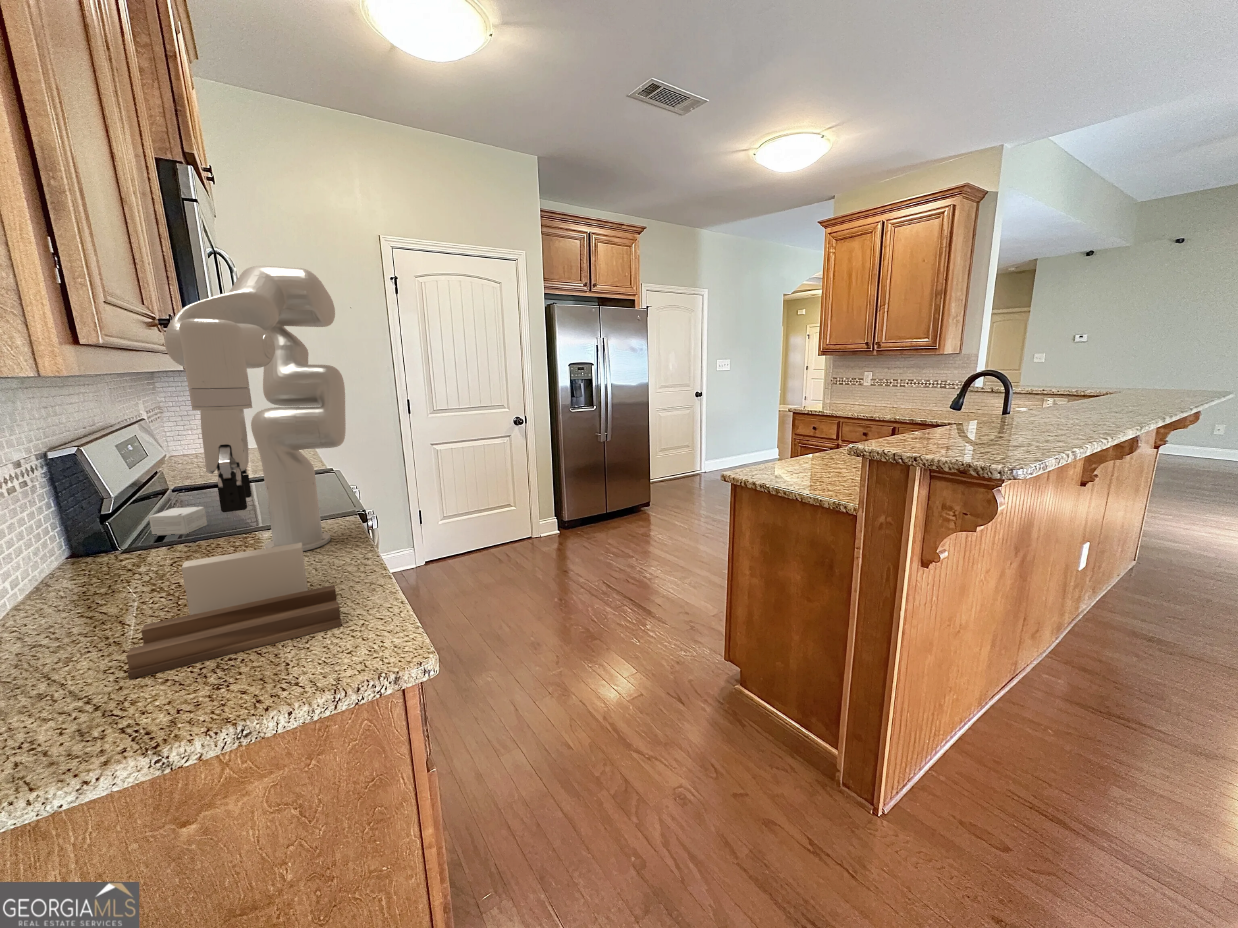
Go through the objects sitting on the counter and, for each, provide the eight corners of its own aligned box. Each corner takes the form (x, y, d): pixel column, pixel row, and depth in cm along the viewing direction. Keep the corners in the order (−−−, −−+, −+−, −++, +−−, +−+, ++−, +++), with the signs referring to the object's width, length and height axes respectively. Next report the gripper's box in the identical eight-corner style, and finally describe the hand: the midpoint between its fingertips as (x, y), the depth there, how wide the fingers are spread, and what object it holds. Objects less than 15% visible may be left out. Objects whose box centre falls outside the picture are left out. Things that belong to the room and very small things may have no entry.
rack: (149, 640, 72) (145, 622, 71) (336, 599, 85) (334, 583, 84) (129, 679, 63) (124, 658, 62) (341, 625, 76) (339, 608, 75)
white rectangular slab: (194, 612, 80) (184, 561, 79) (307, 588, 89) (301, 542, 87) (190, 620, 78) (181, 567, 76) (308, 595, 87) (301, 547, 85)
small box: (175, 526, 126) (171, 507, 125) (208, 525, 127) (205, 506, 126) (151, 536, 118) (147, 516, 118) (186, 534, 120) (183, 514, 119)
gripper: (199, 398, 82) (215, 496, 85) (180, 403, 68) (199, 520, 71) (254, 397, 86) (267, 491, 89) (247, 401, 72) (262, 512, 75)
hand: (237, 504), depth 80 cm, fingers open, 9 cm apart
